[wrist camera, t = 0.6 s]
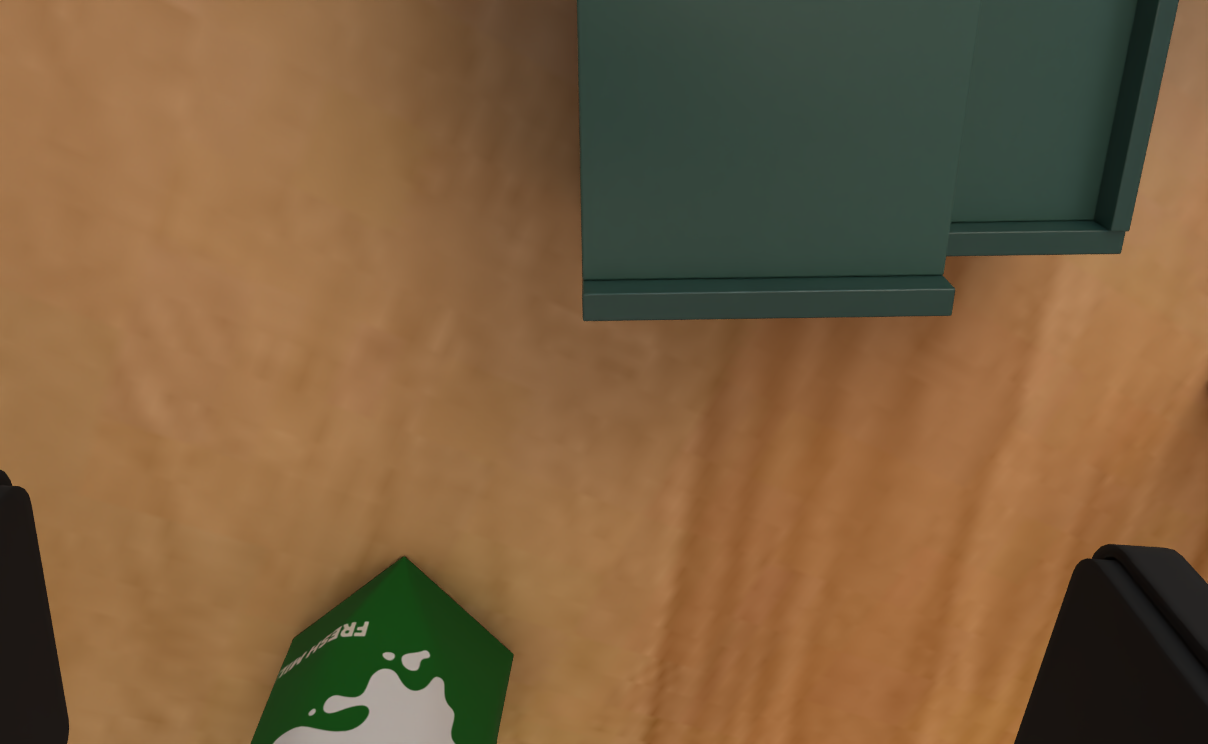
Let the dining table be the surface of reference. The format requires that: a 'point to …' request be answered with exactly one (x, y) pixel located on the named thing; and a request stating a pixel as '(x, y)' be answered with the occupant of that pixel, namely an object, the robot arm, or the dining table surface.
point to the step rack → (851, 147)
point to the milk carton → (390, 671)
